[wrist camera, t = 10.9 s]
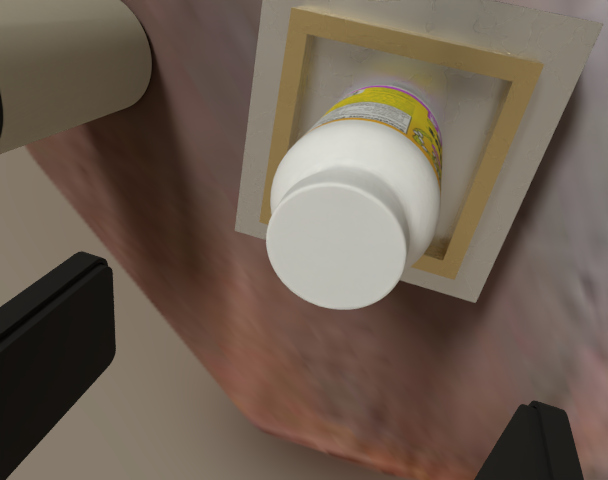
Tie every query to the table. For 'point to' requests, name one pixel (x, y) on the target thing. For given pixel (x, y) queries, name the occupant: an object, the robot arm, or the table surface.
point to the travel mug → (67, 65)
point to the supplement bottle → (357, 198)
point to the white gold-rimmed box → (434, 93)
